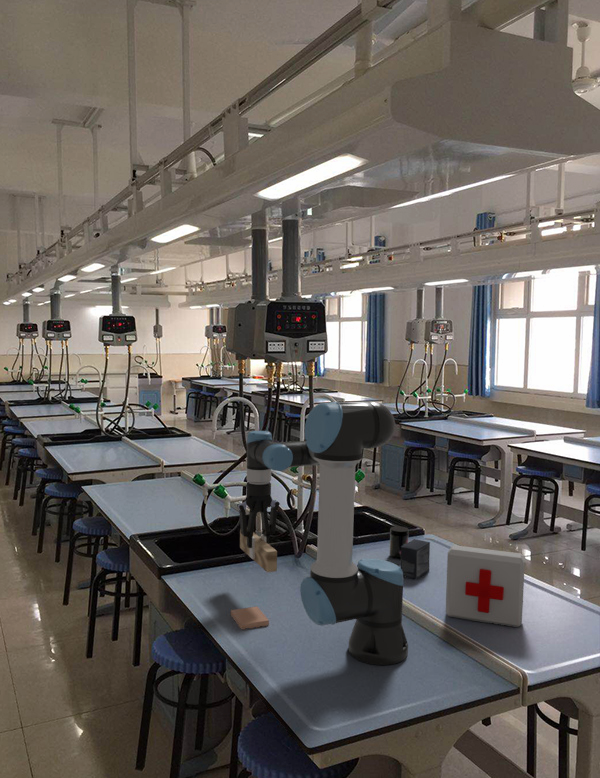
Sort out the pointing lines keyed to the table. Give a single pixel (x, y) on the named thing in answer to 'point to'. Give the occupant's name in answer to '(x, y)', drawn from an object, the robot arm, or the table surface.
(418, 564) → the small box
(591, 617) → the table surface
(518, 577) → the bevelled white case
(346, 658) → the table surface
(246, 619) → the tile
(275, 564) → the push bar
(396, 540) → the supplement container
